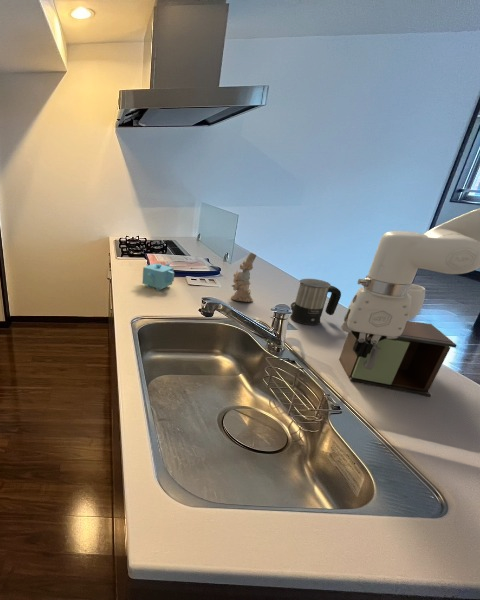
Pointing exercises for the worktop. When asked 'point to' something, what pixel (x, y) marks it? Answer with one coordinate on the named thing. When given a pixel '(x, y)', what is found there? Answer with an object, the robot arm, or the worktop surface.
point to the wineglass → (416, 300)
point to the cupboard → (408, 359)
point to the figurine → (243, 280)
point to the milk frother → (314, 301)
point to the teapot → (158, 275)
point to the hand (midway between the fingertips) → (359, 354)
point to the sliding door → (381, 361)
